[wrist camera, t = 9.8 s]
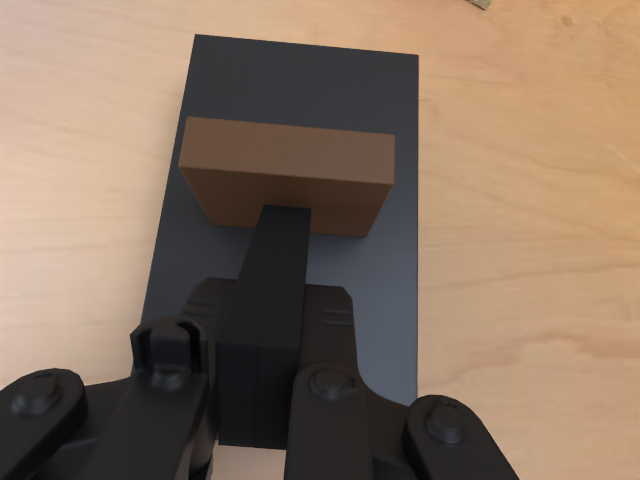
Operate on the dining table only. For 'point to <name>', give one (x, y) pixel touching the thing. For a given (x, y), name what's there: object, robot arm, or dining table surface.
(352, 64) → the lid
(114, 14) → the dining table surface
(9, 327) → the dining table surface
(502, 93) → the dining table surface
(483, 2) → the milk carton
